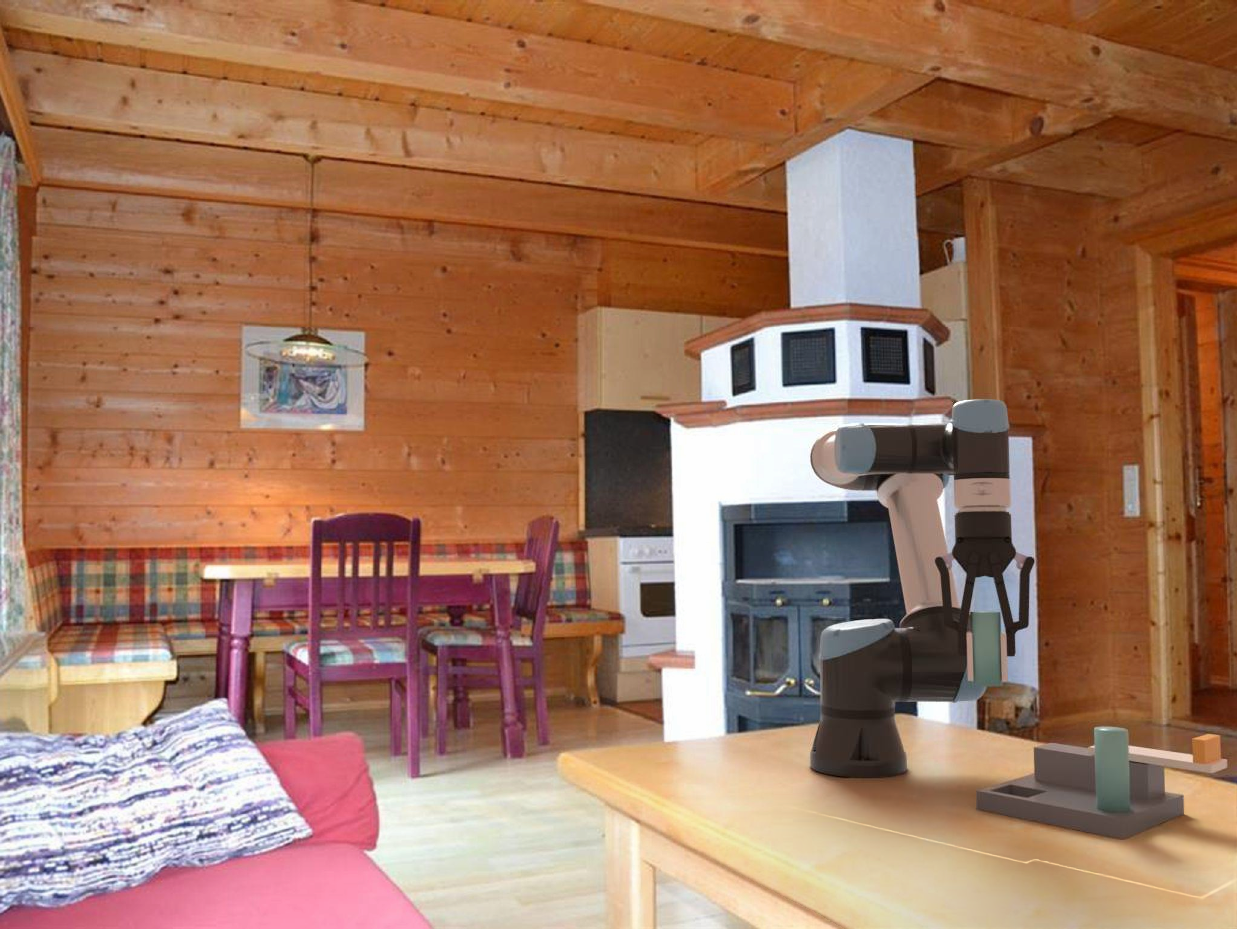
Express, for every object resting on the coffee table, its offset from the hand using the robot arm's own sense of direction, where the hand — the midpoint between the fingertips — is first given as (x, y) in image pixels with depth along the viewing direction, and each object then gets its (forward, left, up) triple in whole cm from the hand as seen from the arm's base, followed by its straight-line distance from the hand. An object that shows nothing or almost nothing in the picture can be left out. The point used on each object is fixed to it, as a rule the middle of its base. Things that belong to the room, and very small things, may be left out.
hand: (987, 679), depth 157 cm
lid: (+18, +12, -10) cm, 23 cm away
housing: (+10, +6, -17) cm, 21 cm away
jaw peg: (0, 0, -1) cm, 1 cm away
